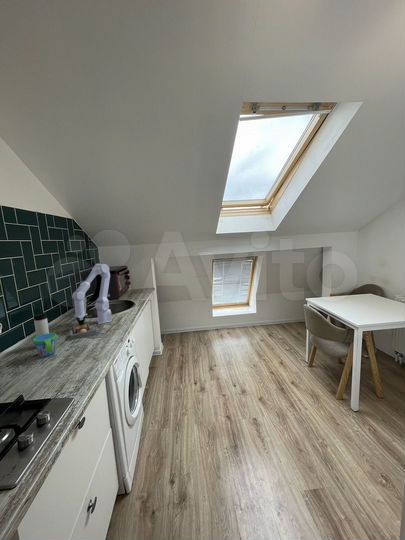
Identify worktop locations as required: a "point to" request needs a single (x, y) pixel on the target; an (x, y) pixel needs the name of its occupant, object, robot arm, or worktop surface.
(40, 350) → the snack cup
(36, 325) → the travel mug
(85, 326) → the brown square block
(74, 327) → the rails
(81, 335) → the tray
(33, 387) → the worktop surface
